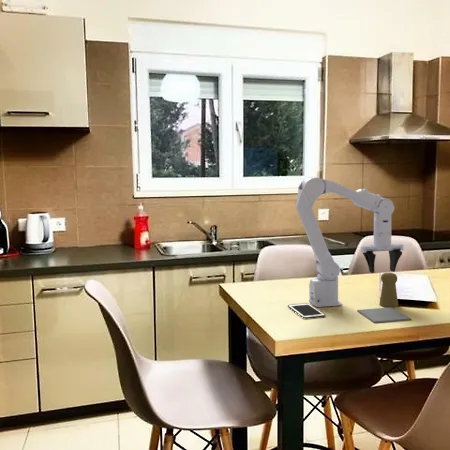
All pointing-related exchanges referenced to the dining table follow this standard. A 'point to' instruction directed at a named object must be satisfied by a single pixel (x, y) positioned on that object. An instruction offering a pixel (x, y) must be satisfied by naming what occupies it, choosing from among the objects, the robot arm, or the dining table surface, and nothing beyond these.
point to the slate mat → (383, 315)
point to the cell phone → (306, 310)
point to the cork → (388, 290)
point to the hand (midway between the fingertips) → (382, 271)
